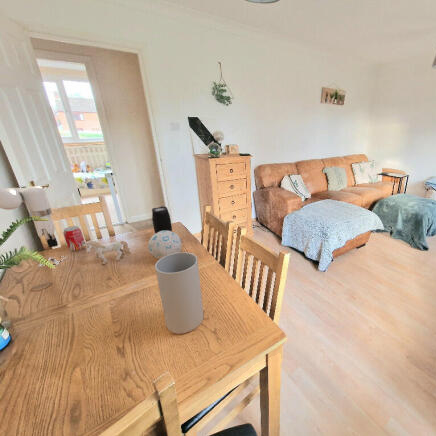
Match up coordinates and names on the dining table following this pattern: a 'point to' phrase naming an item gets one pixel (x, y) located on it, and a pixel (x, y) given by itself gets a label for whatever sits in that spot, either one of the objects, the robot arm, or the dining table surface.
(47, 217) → the robot arm
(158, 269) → the cylinder vase
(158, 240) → the puzzle ball
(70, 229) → the soda can
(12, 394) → the dining table surface
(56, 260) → the grey square slab
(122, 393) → the dining table surface
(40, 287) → the cork coaster
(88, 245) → the unicorn figurine
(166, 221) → the portable speaker
